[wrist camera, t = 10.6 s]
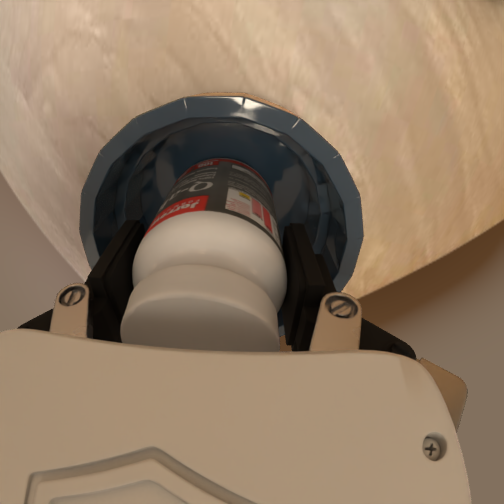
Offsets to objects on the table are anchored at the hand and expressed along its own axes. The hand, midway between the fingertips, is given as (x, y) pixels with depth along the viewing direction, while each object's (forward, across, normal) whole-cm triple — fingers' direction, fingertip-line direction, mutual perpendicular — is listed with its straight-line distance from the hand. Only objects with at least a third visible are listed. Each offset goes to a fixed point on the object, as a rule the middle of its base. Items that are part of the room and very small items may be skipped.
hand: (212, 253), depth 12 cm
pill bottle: (+5, 0, 0) cm, 5 cm away
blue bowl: (+6, 0, 0) cm, 6 cm away
